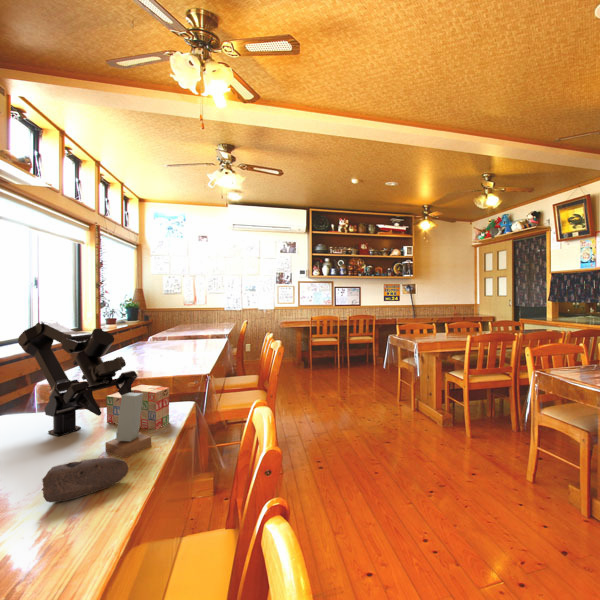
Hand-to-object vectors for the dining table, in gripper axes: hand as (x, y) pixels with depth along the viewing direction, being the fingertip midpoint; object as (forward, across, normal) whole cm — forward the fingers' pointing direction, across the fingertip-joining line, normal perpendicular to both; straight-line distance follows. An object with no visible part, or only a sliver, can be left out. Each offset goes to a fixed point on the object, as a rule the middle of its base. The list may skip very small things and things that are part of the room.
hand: (116, 409), depth 87 cm
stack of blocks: (+1, +14, +14) cm, 20 cm away
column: (+9, 0, +2) cm, 9 cm away
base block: (+11, 0, +4) cm, 12 cm away
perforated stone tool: (+18, -17, -4) cm, 25 cm away
